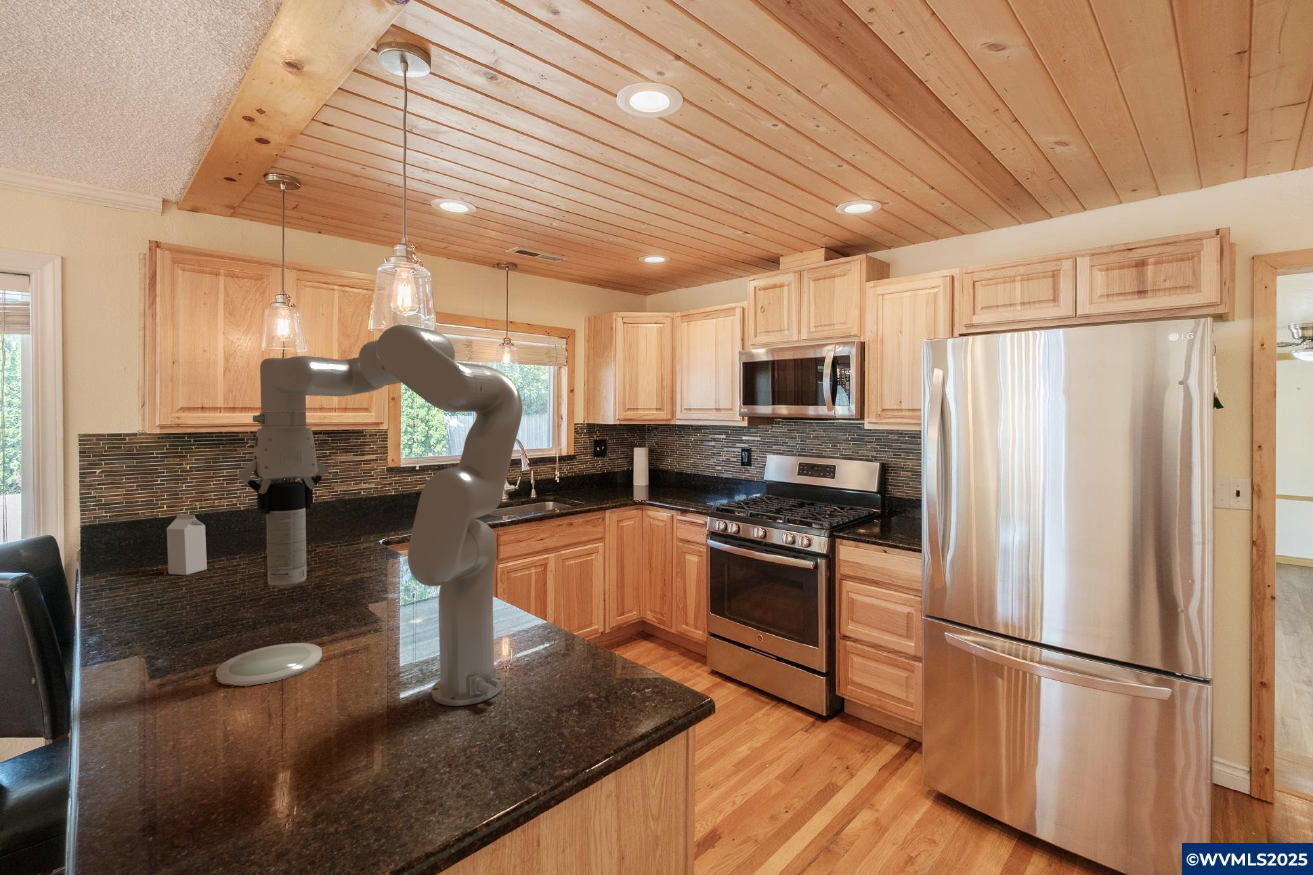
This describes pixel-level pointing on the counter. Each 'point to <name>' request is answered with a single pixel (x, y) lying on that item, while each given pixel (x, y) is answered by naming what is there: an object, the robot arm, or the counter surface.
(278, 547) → the spray can
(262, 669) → the dish
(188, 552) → the milk carton
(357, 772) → the counter surface
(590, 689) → the counter surface
